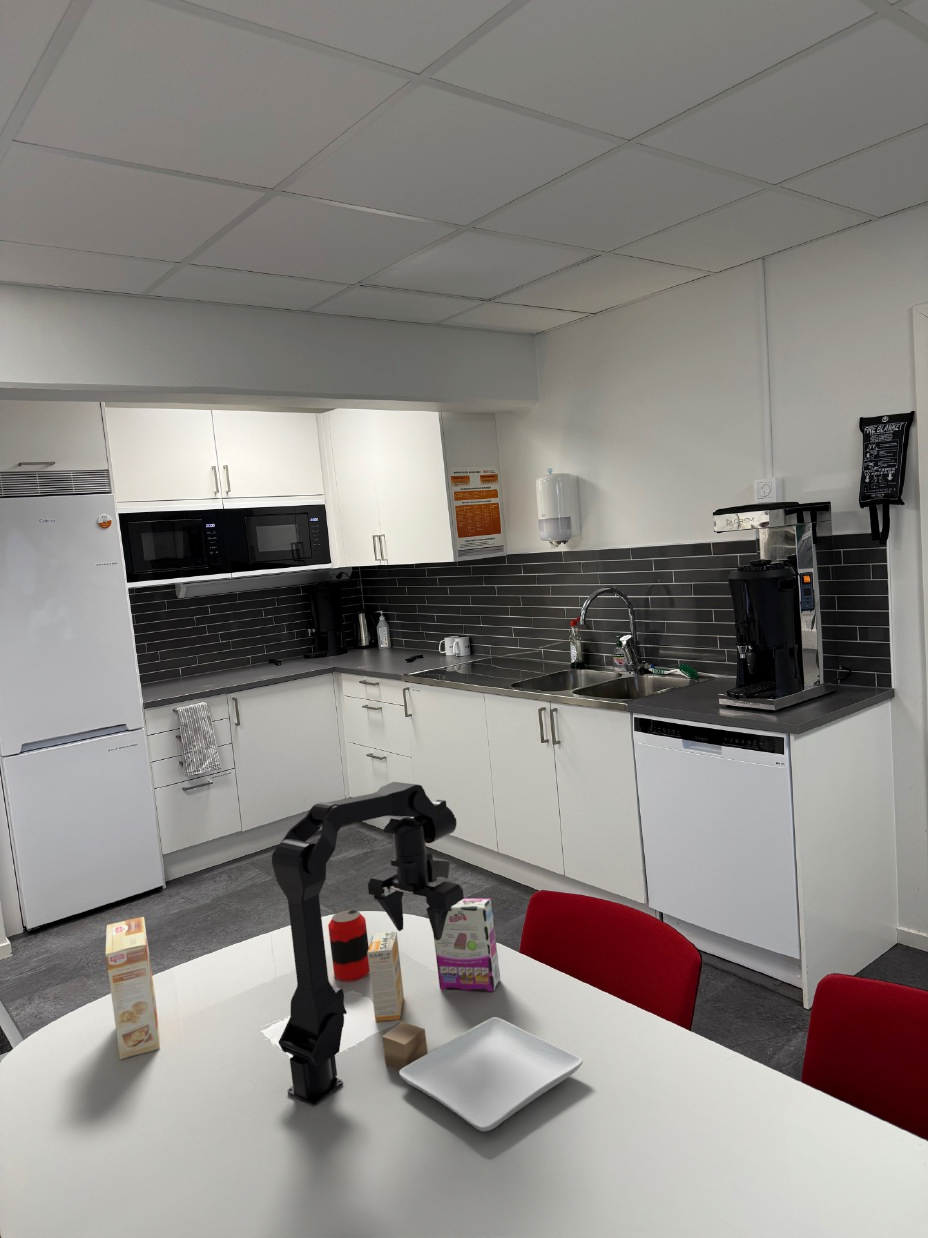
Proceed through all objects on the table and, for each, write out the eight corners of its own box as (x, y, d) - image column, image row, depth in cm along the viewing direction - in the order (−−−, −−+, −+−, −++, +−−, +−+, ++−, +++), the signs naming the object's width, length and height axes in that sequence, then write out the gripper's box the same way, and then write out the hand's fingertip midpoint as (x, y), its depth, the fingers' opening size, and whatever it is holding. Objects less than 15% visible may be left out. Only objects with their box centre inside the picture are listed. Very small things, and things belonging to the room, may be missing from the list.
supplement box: (401, 1020, 156) (393, 950, 155) (374, 1022, 156) (366, 952, 155) (405, 996, 164) (397, 930, 163) (380, 999, 164) (372, 932, 163)
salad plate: (397, 1090, 136) (394, 1069, 136) (496, 1032, 149) (494, 1013, 149) (485, 1152, 120) (482, 1128, 119) (588, 1080, 133) (586, 1059, 133)
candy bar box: (501, 979, 167) (492, 897, 166) (494, 993, 162) (485, 908, 161) (446, 977, 170) (437, 896, 169) (438, 990, 165) (429, 907, 164)
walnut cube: (408, 1074, 139) (404, 1044, 139) (385, 1065, 143) (382, 1036, 142) (428, 1058, 143) (424, 1029, 143) (405, 1050, 146) (402, 1021, 146)
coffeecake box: (161, 1049, 155) (146, 944, 153) (118, 1061, 152) (103, 954, 151) (158, 1011, 169) (144, 915, 167) (119, 1022, 166) (105, 924, 165)
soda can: (378, 967, 177) (372, 911, 177) (355, 985, 171) (348, 926, 170) (350, 961, 181) (343, 906, 181) (326, 978, 175) (319, 921, 174)
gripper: (477, 843, 157) (486, 927, 158) (402, 832, 169) (410, 909, 170) (439, 864, 148) (448, 952, 149) (361, 850, 160) (370, 932, 161)
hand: (419, 934), depth 158 cm, fingers open, 9 cm apart
